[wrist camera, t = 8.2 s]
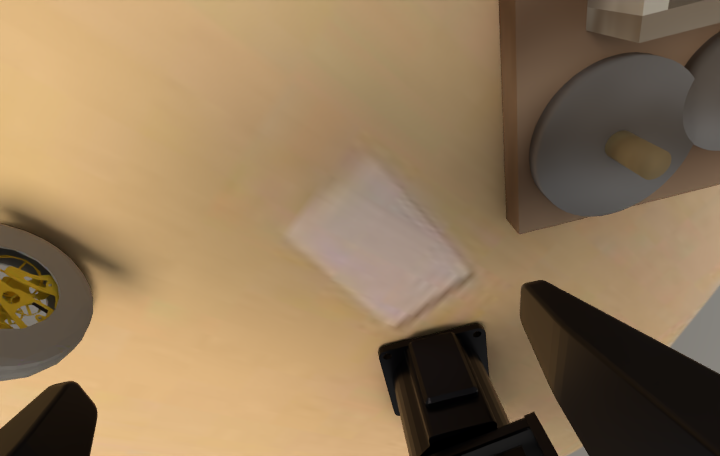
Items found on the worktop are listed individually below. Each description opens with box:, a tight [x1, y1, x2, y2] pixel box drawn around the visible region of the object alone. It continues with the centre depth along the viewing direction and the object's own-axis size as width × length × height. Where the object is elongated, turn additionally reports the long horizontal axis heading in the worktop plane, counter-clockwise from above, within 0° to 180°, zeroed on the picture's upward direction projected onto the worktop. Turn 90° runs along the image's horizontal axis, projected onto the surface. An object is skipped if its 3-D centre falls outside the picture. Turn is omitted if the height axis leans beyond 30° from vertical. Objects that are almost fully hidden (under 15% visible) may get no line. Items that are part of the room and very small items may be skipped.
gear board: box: [499, 0, 720, 234], centre depth 15 cm, size 18×12×4 cm, turn 12°
